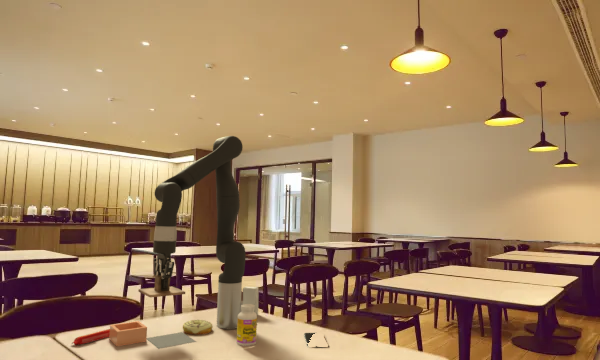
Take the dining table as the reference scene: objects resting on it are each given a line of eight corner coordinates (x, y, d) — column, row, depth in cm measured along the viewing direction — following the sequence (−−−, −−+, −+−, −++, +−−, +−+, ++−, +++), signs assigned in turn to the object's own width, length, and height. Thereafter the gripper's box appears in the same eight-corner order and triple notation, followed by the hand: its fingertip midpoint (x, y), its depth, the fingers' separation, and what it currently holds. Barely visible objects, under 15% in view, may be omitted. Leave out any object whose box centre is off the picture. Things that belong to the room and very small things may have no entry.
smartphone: (307, 346, 134) (303, 332, 149) (307, 349, 134) (303, 335, 149) (329, 346, 134) (323, 332, 149) (329, 349, 134) (323, 335, 149)
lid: (171, 288, 146) (172, 272, 147) (185, 294, 137) (186, 276, 138) (138, 291, 139) (139, 274, 139) (150, 297, 130) (151, 279, 130)
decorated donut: (196, 338, 141) (196, 327, 142) (176, 332, 147) (177, 322, 148) (217, 331, 150) (218, 321, 150) (198, 326, 156) (198, 316, 156)
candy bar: (114, 334, 145) (114, 325, 145) (120, 335, 143) (121, 327, 143) (70, 346, 131) (70, 336, 131) (76, 348, 129) (77, 338, 129)
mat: (181, 333, 146) (181, 332, 146) (196, 342, 136) (196, 341, 136) (145, 339, 138) (145, 338, 138) (158, 349, 128) (158, 348, 128)
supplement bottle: (240, 348, 132) (241, 308, 133) (233, 342, 138) (235, 304, 139) (259, 345, 135) (260, 306, 136) (252, 339, 141) (253, 302, 142)
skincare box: (258, 314, 176) (259, 286, 177) (255, 317, 172) (256, 288, 173) (245, 313, 177) (246, 285, 178) (241, 316, 173) (242, 287, 174)
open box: (137, 335, 143) (138, 320, 143) (146, 342, 135) (147, 327, 136) (109, 339, 137) (110, 325, 137) (116, 347, 129) (117, 331, 130)
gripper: (183, 240, 137) (180, 291, 135) (168, 238, 148) (165, 285, 146) (161, 240, 132) (158, 293, 130) (147, 238, 143) (144, 287, 141)
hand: (161, 289), depth 138 cm, fingers closed on lid, 3 cm apart
